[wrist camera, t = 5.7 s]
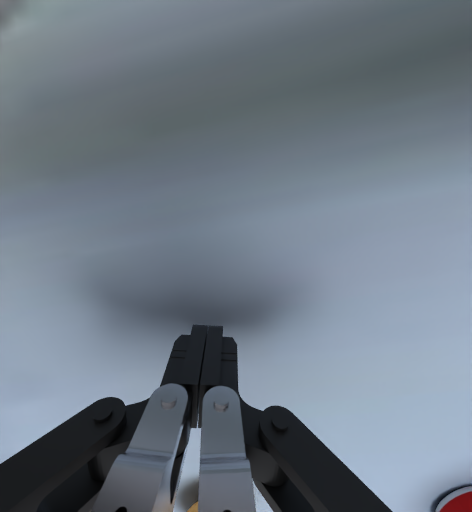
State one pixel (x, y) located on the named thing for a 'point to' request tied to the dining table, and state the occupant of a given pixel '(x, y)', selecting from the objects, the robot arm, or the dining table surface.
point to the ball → (193, 508)
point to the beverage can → (457, 501)
